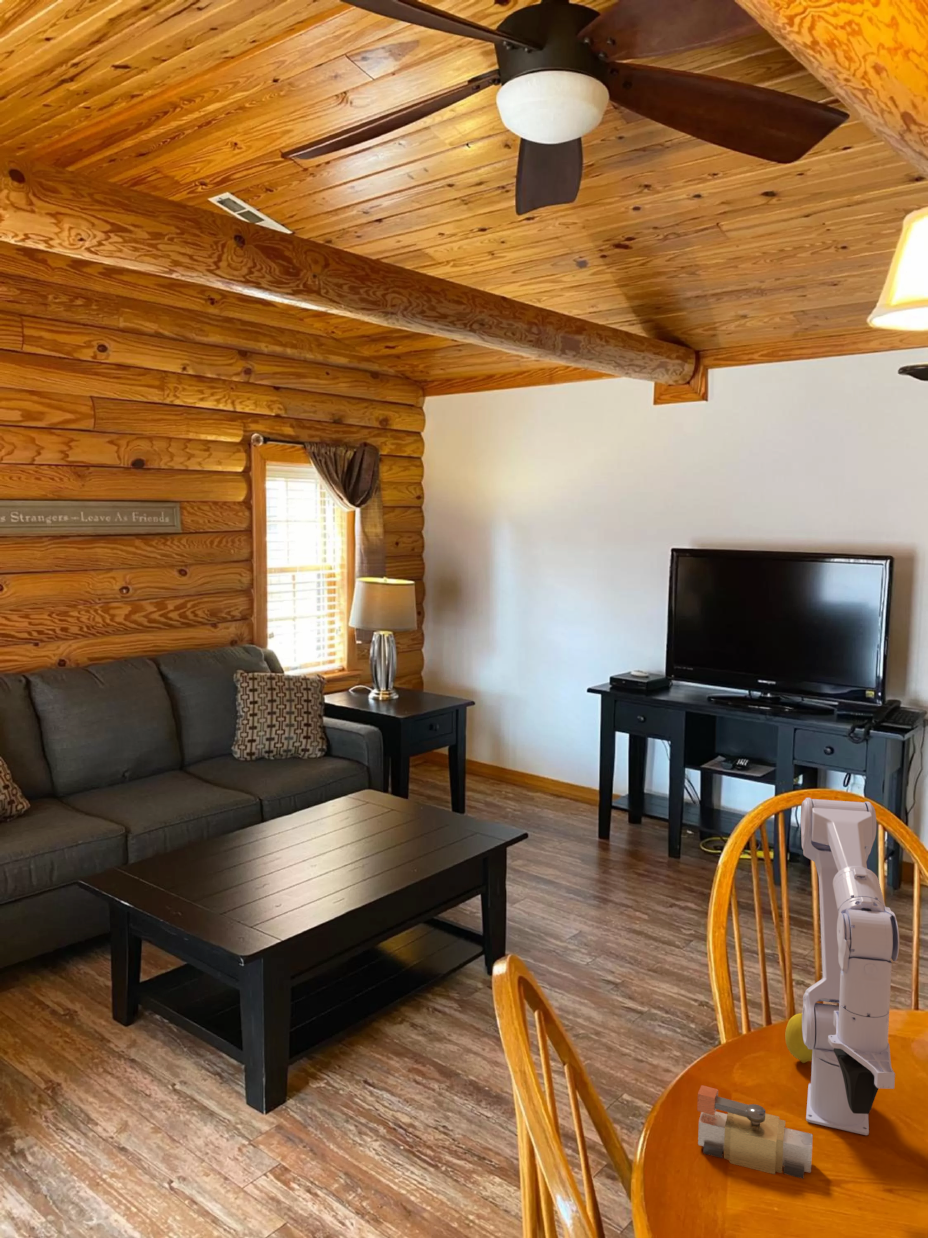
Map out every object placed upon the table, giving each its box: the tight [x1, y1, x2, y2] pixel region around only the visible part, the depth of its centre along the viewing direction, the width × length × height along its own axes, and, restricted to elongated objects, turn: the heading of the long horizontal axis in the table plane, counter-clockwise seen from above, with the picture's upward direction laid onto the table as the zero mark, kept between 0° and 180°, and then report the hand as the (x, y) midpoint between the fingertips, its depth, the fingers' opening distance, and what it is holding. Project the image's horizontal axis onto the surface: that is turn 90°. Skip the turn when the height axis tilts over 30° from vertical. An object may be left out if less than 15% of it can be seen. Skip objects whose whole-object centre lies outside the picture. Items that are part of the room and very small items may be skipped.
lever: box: [696, 1084, 766, 1123], centre depth 123 cm, size 8×2×2 cm, turn 63°
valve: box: [697, 1111, 814, 1179], centre depth 121 cm, size 6×14×5 cm, turn 68°
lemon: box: [784, 1012, 812, 1064], centre depth 143 cm, size 6×6×8 cm
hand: (859, 1110), depth 116 cm, fingers closed
